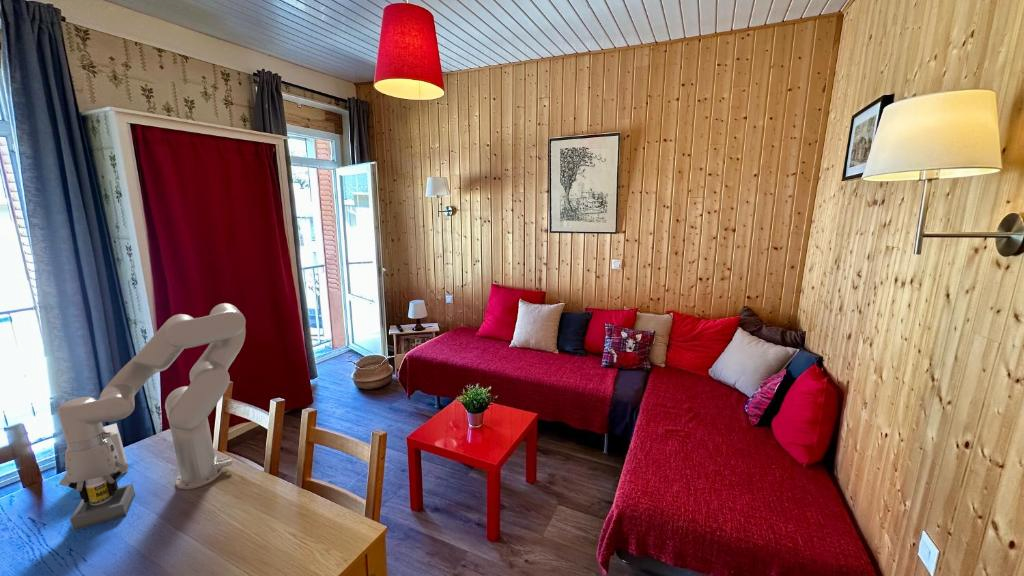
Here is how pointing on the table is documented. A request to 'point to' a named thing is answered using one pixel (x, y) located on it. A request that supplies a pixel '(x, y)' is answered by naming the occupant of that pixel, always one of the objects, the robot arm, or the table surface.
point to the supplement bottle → (97, 490)
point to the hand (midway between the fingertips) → (100, 495)
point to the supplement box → (116, 442)
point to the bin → (103, 509)
